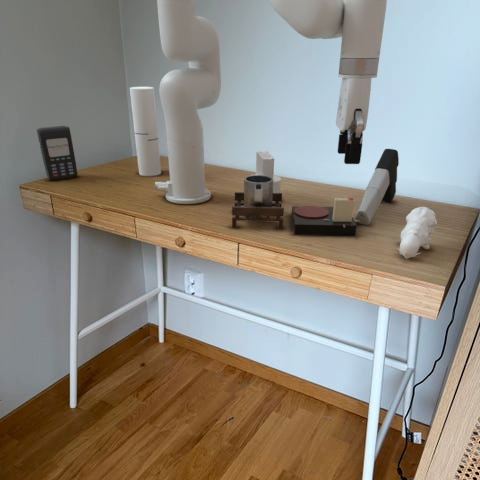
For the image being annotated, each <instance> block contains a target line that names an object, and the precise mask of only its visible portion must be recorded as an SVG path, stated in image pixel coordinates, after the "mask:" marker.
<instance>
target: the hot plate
mask: <svg viewBox="0 0 480 480" xmlns="http://www.w3.org/2000/svg"><path fill="white" fill-rule="evenodd" d="M299 206H300V207H297V208H295V210H294V213H295V214H297V215H298V216H301V217H306V218H322V217H326V216H328V215H329V211H328V210H327V209H326V208H323V207H324V206H319V205H299Z"/></svg>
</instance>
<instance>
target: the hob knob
mask: <svg viewBox="0 0 480 480" xmlns="http://www.w3.org/2000/svg"><path fill="white" fill-rule="evenodd" d="M354 206H355V199H354V197H351V196H350V197H348V198H347V197H334V202H333V207H334V209H333V217H332V220H333V221H334V222H352V217H353V214H354Z"/></svg>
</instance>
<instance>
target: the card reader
mask: <svg viewBox="0 0 480 480" xmlns="http://www.w3.org/2000/svg"><path fill="white" fill-rule="evenodd" d="M36 133H37V138H38V144H39V148H40V153H41V157H42V163H43V166H44V171H45V173H46V178H47V180H48V181H61V180H68V179H75V178H76V177H78V168H77V162H76V156H75V151H74V145H73V139H72V134H71V133H72V132H71V128H70V127H69V125H68V126H66V125H59V126H58V125H57V126H45V127H39V128H36Z"/></svg>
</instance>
